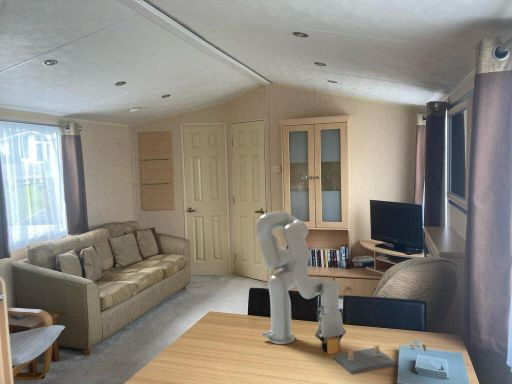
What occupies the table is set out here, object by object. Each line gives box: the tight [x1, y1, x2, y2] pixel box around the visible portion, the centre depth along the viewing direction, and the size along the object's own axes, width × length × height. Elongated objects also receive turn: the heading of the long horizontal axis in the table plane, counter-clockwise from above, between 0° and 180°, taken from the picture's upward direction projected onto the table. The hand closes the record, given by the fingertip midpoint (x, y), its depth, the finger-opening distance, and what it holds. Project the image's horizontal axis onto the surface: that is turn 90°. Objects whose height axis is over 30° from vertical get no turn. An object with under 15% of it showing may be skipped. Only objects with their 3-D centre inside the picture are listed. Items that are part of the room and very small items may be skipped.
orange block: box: [326, 336, 340, 355], centre depth 178 cm, size 5×5×6 cm
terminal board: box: [333, 344, 397, 374], centre depth 167 cm, size 20×14×6 cm
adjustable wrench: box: [407, 339, 424, 349], centre depth 171 cm, size 25×6×2 cm, turn 177°
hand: (330, 349), depth 178 cm, fingers closed on orange block, 4 cm apart
